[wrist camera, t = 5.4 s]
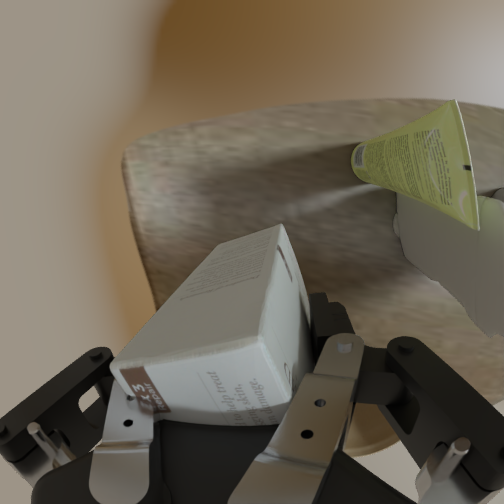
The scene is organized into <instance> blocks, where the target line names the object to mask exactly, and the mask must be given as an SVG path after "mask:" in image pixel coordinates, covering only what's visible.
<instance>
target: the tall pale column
mask: <svg viewBox="0 0 504 504" xmlns="http://www.w3.org/2000/svg"><path fill="white" fill-rule="evenodd" d="M477 205H478V215H479V226H480V231H477V230H474V229H472V228H470V227H468V226H467V225H465V224H463V223H462V222H460V221H458V220H456V219H454V218H453V217H451V216H449V215H447V214H445V213H443V212H441V211H439V210H437V209H435V208H433V207H431V206H429V205H427V204H424V203H422V202H420V201H418V200H415V199H413V198H410V197H408V196H405V195H403V194H400V193H398V192H396V212H397V213H396V215H395V216H394V220H393V229H394V232H395V234H396V235H397V236H398V237H399V238H400V241H401V245H402V249H403V253H404V256H405V257H406V259H407V260H408V261H410V262H411V263H412V264H413V265H415V266H416V267H417V268H418V269H419V270H420V271H422V272H423V273H424V274H425V275H426V276H428V277H429V278H430V279H431V280H434V281H438V282H439V283H440V284H441V286H443V287H444V288H445V289H446V290H448V291H449V293H450V294H452V295H453V296H454V297H455V298H456V299H457V300H458V302H460V304H461V305H462V306H463V307H465V310H466V312H467V314H468V316H469V317H470V319H471V320H472V321H473V322H474V323H475V324H476V325H477V326H478V327H479V328H480V329H481V330H482V331H483V332H484V333H485V334H486V335H487V336H488V337H490V338H491V337H493V336H494V335H496V334H499V335H501V336H503V337H504V203H503V202H502V201H500V200H497V199H493V198H489V197H485V196H477Z"/></svg>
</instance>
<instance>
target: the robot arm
mask: <svg viewBox="0 0 504 504" xmlns="http://www.w3.org/2000/svg"><path fill="white" fill-rule="evenodd" d="M492 198H493V199H497V200H500V201H502V202H503V203H504V188H501V189H499V190H498V191H496V192H495V193H494V194H493V196H492ZM309 308H310V331H311V338H312V347H313V355H314V364H315V369H314V371H313V373H311V372H307V373H306V374H305V376H304V378H303V380H302V382H301V384H300V386H299V388H298V390H297V392H296V394H295V396H294V398H293V400H292V402H291V404H290V406H289V408H288V410H287V412H286V413H285V415H284V417H283V419H282V421H281V423H280V424H273V425H256V426H227V425H209V424H197V423H187V422H180V421H173V420H167V419H163V420H160V412H159V410H158V408H157V406H156V403H155V401H154V399H148V398H142V397H137V396H136V398H135V399H134V400H132V398H131V396H130V395H129V394H126V393H125V392H124V390H123V389H122V387H121V386H120V384H119V383H118V382H117V380H116V379H115V377H114V376H113V374H112V372H111V370H110V363H111V362H112V361H113V359H114V358H115V357H113V354H112V352H111V350H110V349H109V348H107V347H97V348H94V349H91V350H89V351H88V352H86V353H85V354H83V355H82V356H81V357H80V358H78V359H77V360H76V361H74V362H73V363H72V364H70V365H69V366H68V367H66V368H65V369H64V370H62V371H61V372H60V373H59V374H57V375H56V376H55V377H53V378H52V379H51V380H50V381H48V382H47V383H45V384H44V385H43V386H41V387H40V388H39V389H38V390H36V391H35V392H34V393H32V394H31V395H30V396H29V397H27V398H26V399H25V400H23V401H22V402H21V403H20V404H18V405H17V406H16V407H15V408H13V409H12V410H11V411H9V412H8V413H7V414H6V415H5V416H3V417H2V418H1V419H0V454H1V455H2V456H3V458H4V459H5V461H6V462H7V463H8V464H9V465H10V466H11V467H12V468H13V469H14V470H15V471H16V472H17V473H18V474H19V475H20V476H21V477H22V478H24V479H25V480H26V481H27V482H28V483H29V484H30V485H31V486H32V487H33V491H32V496H31V504H417V503H416V502H414V501H413V500H411V499H409V498H408V497H406V496H405V495H403V494H402V493H400V492H399V491H397V490H396V489H394V488H393V487H391V486H390V485H388V484H387V483H386V482H384V481H383V480H381V479H380V478H379V477H377V476H376V475H374V474H373V473H372V472H370V471H369V470H367V469H366V468H365V467H363V466H362V465H361V464H359V463H358V462H357V461H355V460H354V459H353V458H352V457H350V456H349V455H348V454H346V453H345V452H344V449H345V446H346V442H347V438H348V434H349V430H350V427H351V423H352V420H353V416H354V412H355V408H356V404H357V403H365V404H377V406H378V408H379V410H380V411H381V413H382V414H383V416H384V417H385V418H386V420H387V421H388V423H389V424H390V426H391V427H392V429H393V430H394V431H395V433H396V434H397V436H398V437H399V439H400V440H401V442H402V443H403V444H404V446H405V447H406V449H407V450H408V452H409V453H410V455H411V456H412V458H413V459H414V461H415V462H416V463H417V465H418V466H419V468H420V469H421V470H420V472H419V473H418V475H417V477H416V481H415V485H416V489H417V491H418V495H419V501H418V504H487V503H488V502H489V501H490V500H491V499H493V498H494V497H495V496H496V495H497V494H498V493H499V492H500V491H501V490H502V489H503V488H504V416H502V414H500V412H498V411H497V410H496V409H495V408H494V407H493V406H492V405H491V404H490V403H489V402H488V401H487V400H486V399H485V398H484V397H483V396H482V395H481V394H479V393H478V392H477V391H476V390H475V389H474V388H473V387H472V386H471V385H470V384H469V383H468V382H466V381H465V380H464V379H463V378H462V377H461V376H460V375H459V374H458V373H456V372H455V371H454V370H453V369H452V368H451V367H450V366H449V365H448V364H446V363H445V362H444V361H443V360H442V359H441V358H440V357H439V356H437V355H436V354H435V353H434V352H433V351H432V350H431V349H429V348H428V347H427V346H426V345H425V344H424V343H422V342H421V341H420V340H418V339H416V338H413V337H408V336H402V337H397V338H394V339H392V340H391V341H390V342H389V343H388V345H387V349H386V348H373V347H369V346H366V345H364V340H363V339H362V338H361V337H359V336H358V335H355V332H354V330H353V327H352V325H351V322H350V319H349V317H348V314H347V312H346V309H345V307H344V306H343V305H341V304H340V303H339V302H331V303H329V302H328V299H327V296H326V293H325V292H324V293H313V294H309ZM92 386H95V388H96V390H97V392H98V394H99V396H100V397H99V398H98V399H97V400H96V401H95V402H94V403H93V404H92V405H91V406H90V407H88V408H87V409H86V410H85V411H84V412H83V413H82V411H81V410H80V408H79V404H78V402H79V399H80V397H81V396H82V395H83V394H84V393H85V392H87V391H88V390H89V389H90V388H91V387H92ZM101 439H102V442H101V444H100V445H98V446H96V447H95V449H94V450H93V451H91V452H89V451H90V450H91V449H92V448H93V447H94V446H95V445H96V444H97V443H98V442H99V441H100V440H101ZM88 452H89V453H88Z"/></svg>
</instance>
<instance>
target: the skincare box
mask: <svg viewBox="0 0 504 504" xmlns="http://www.w3.org/2000/svg"><path fill="white" fill-rule="evenodd" d="M314 369H315V364H314V355H313V347H312V338H311V331H310V308H309V301H308V297H307V293H306V289H305V285H304V282H303V278H302V275H301V272H300V269H299V266H298V263H297V260H296V257H295V254H294V252H293V249H292V246H291V244H290V241H289V238H288V236H287V233H286V231H285V229H284V226H283V225H282V224H278V225H276V226H273V227H270V228H267V229H264V230H261V231H258V232H255V233H252V234H249V235H246V236H243V237H240V238H237V239H234V240H231V241H228V242H224V243H221V244H219V245H217V246H216V247H215V248H214V250H213V251H212V252H211V253H210V254H209V255H208V256H207V257H206V258H205V259H204V261H203V262H202V263H201V264H200V265H199V266H198V267H197V268H196V269H195V270H194V271H193V272H192V273H191V274H190V275H189V276H188V278H187V279H186V280H185V281H184V282H183V283H182V284H181V285H180V286H179V288H178V289H177V290H176V291H175V292H174V293H173V294H172V295H171V296H170V297H169V299H168V300H167V301H166V302H165V303H164V304H163V305H162V306H161V307H160V309H159V310H158V311H157V312H156V313H155V314H154V315H153V316H152V318H151V319H150V320H149V321H148V322H147V323H146V324H145V325H144V326H143V327H142V329H141V330H140V331H139V332H138V333H137V334H136V336H135V337H134V338H133V339H132V340H131V341H130V342H129V343H128V344H127V345H126V346H125V347H124V349H123V350H122V351H121V352H120V353H119V354H118V355H117V356H116V357H115V358H114V359H113V361H112V362H111V363H110V370H111V372H112V374H113V376H114V377H115V379H116V380H117V382H118V383H119V384H120V386H121V387H122V389H123V390H124V392H125V393H126V394H129V395H130V396H131V398H132V400H134V399H135V398H136V396H137V397H142V398H148V399H154V401H155V403H156V406H157V408H158V410H159V412H160V420H163V419H167V420H173V421H180V422H187V423H197V424H209V425H227V426H256V425H273V424H280V423H281V421H282V419H283V417H284V415H285V413H286V412H287V410H288V408H289V406H290V404H291V402H292V400H293V398H294V396H295V394H296V392H297V390H298V388H299V386H300V384H301V382H302V380H303V378H304V376H305V374H306V373H307V372H311V373H313V371H314Z"/></svg>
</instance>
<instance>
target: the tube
mask: <svg viewBox="0 0 504 504" xmlns="http://www.w3.org/2000/svg"><path fill="white" fill-rule="evenodd" d="M351 165H352V169H353V171H354V173H355V174H356V176H357V177H358V178H359V179H361V180H362V181H364V182H367V183H370V184H374V185H377V186H380V187H384V188H387V189H389V190H392V191H395V192H398V193H400V194H403V195H405V196H408V197H410V198H413V199H415V200H418V201H420V202H422V203H424V204H427V205H429V206H431V207H433V208H435V209H437V210H439V211H441V212H443V213H445V214H447V215H449V216H451V217H453V218H454V219H456V220H458V221H460V222H462V223H463V224H465V225H467V226H468V227H470V228H472V229H474V230H477V231H480V226H479V215H478V205H477V195H476V188H475V181H474V175H473V169H472V163H471V157H470V152H469V147H468V142H467V138H466V133H465V129H464V125H463V120H462V117H461V113H460V110H459V106H458V103H457V100H456V99H454V100H450V101H448V102H446V103H445V104H444V105H442V106H441V107H439V108H438V109H436V110H434V111H433V112H431V113H429V114H427V115H425V116H423V117H422V118H420V119H418V120H416V121H414V122H411V123H409V124H407V125H405V126H403V127H401V128H399V129H397V130H394V131H392V132H390V133H387V134H384V135H382V136H379V137H376V138H373V139H371V140H368V141H365V142H362V143H360V144H359V145H357V146H356V148H355V149H354V150H353V153H352V156H351Z"/></svg>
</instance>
